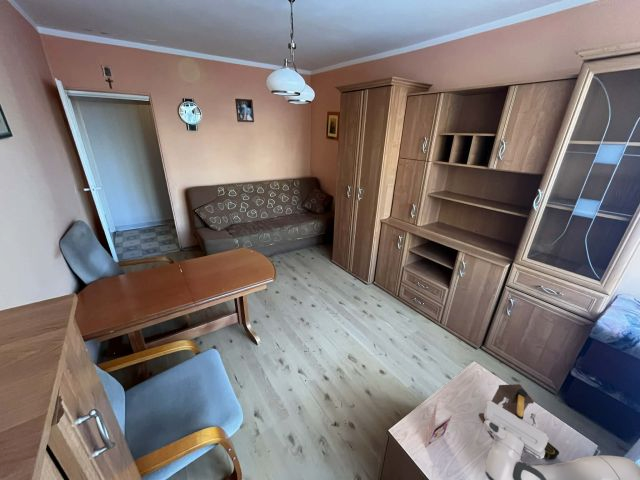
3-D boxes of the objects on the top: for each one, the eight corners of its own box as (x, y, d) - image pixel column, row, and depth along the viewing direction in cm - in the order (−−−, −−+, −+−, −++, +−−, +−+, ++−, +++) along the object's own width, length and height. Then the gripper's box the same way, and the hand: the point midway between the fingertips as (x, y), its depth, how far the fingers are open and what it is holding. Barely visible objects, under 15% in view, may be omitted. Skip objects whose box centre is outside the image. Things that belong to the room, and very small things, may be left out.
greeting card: (427, 449, 113) (435, 429, 107) (414, 432, 119) (421, 412, 113) (445, 437, 118) (454, 417, 112) (431, 421, 124) (440, 401, 117)
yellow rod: (522, 423, 102) (526, 417, 101) (512, 418, 104) (516, 412, 102) (524, 397, 112) (527, 391, 110) (515, 393, 114) (518, 387, 112)
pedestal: (516, 436, 120) (538, 404, 109) (491, 438, 119) (511, 405, 108) (501, 414, 129) (520, 382, 118) (478, 415, 128) (495, 382, 117)
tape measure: (557, 455, 114) (561, 451, 112) (549, 464, 111) (553, 459, 109) (539, 440, 119) (543, 435, 118) (531, 447, 116) (535, 443, 115)
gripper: (545, 462, 92) (555, 423, 98) (481, 420, 104) (493, 388, 109) (539, 462, 97) (549, 425, 102) (478, 422, 109) (490, 391, 114)
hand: (520, 406), depth 106 cm, fingers open, 8 cm apart
